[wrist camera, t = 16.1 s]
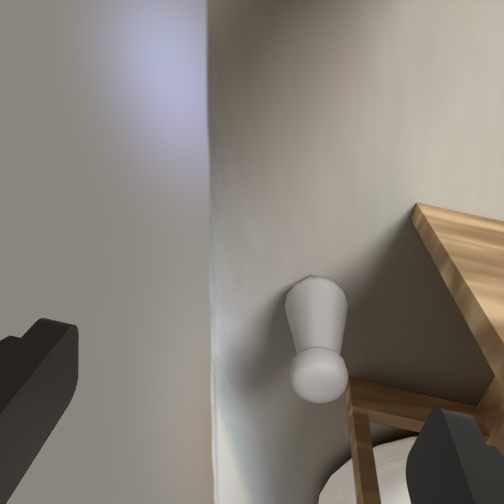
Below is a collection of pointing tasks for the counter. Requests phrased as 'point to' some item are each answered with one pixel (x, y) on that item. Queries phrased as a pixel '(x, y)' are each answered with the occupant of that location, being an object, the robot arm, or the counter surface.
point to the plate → (388, 474)
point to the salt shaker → (317, 339)
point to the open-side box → (476, 316)
